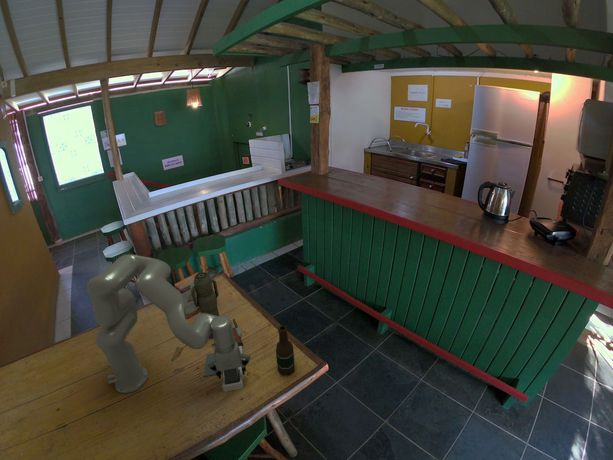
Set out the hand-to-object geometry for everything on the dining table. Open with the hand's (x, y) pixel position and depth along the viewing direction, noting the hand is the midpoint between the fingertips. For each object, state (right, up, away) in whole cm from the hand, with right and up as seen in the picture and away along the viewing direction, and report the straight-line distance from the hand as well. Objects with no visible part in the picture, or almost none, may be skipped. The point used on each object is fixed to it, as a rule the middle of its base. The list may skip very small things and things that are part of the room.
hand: (231, 374), depth 130 cm
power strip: (-1, -1, +7) cm, 8 cm away
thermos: (-15, +8, +28) cm, 33 cm away
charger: (0, -2, +1) cm, 3 cm away
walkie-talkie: (-6, +7, +26) cm, 27 cm away
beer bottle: (+22, -1, +7) cm, 23 cm away
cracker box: (-30, +15, +43) cm, 54 cm away
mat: (-10, 0, +11) cm, 15 cm away
